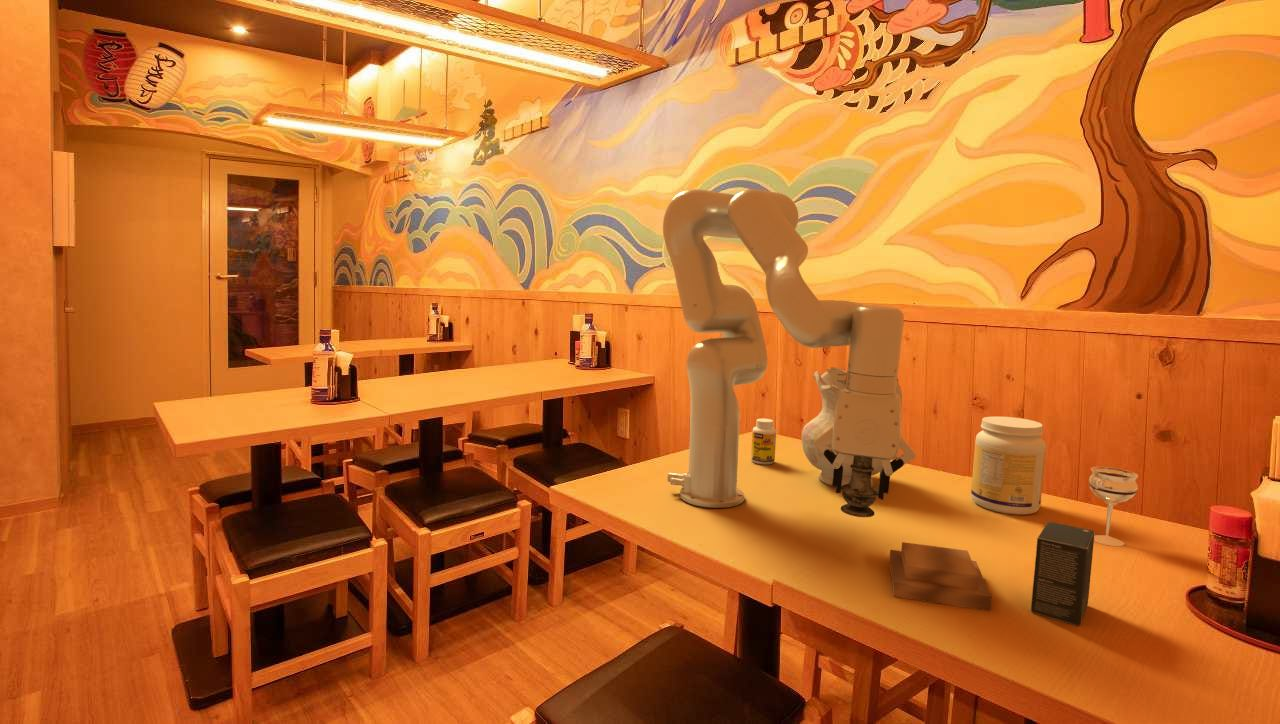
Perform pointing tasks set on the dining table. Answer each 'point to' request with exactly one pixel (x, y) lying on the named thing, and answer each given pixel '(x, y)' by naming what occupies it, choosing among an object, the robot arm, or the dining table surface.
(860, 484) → the salt shaker
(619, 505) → the dining table surface
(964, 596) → the plinth
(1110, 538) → the wineglass
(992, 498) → the supplement tub
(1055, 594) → the box
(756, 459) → the supplement bottle
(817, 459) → the ceramic pitcher
